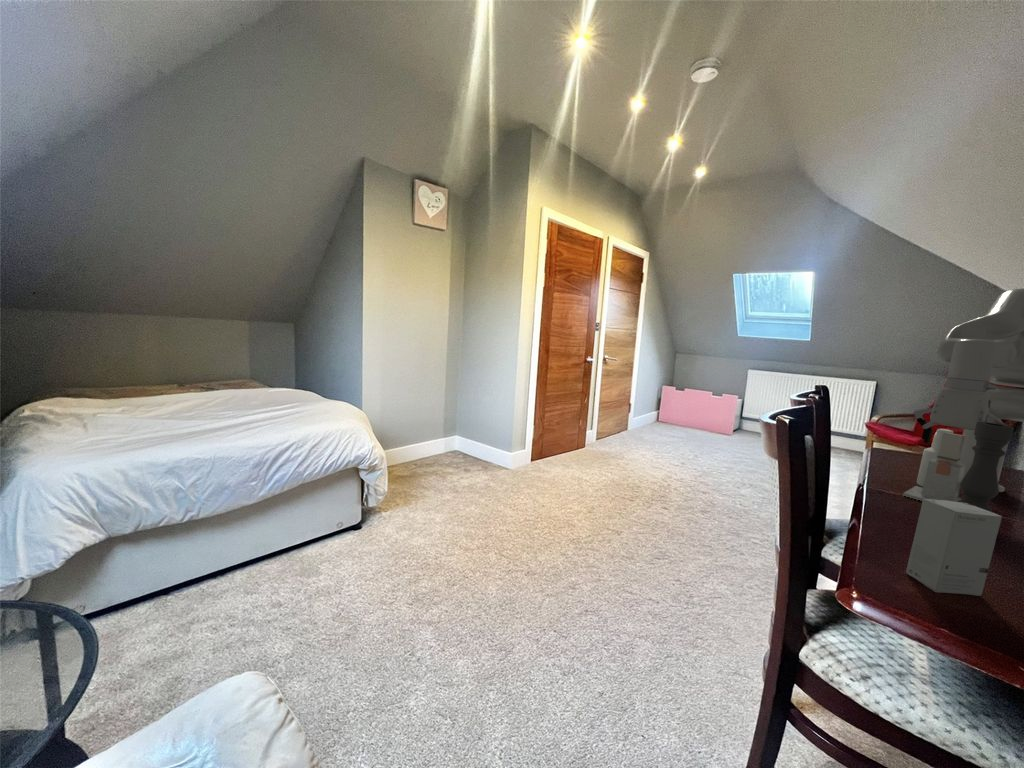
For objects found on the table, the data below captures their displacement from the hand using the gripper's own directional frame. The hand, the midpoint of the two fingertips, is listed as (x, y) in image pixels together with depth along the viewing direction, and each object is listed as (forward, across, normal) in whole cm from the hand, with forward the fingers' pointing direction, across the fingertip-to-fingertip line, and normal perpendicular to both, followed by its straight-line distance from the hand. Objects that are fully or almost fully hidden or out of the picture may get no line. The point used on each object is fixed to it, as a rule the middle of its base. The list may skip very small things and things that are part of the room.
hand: (951, 447), depth 111 cm
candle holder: (+16, -8, +14) cm, 22 cm away
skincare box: (+16, -11, +57) cm, 60 cm away
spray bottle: (+16, +4, -14) cm, 21 cm away
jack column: (+14, 0, 0) cm, 14 cm away
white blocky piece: (+15, 0, 0) cm, 15 cm away
